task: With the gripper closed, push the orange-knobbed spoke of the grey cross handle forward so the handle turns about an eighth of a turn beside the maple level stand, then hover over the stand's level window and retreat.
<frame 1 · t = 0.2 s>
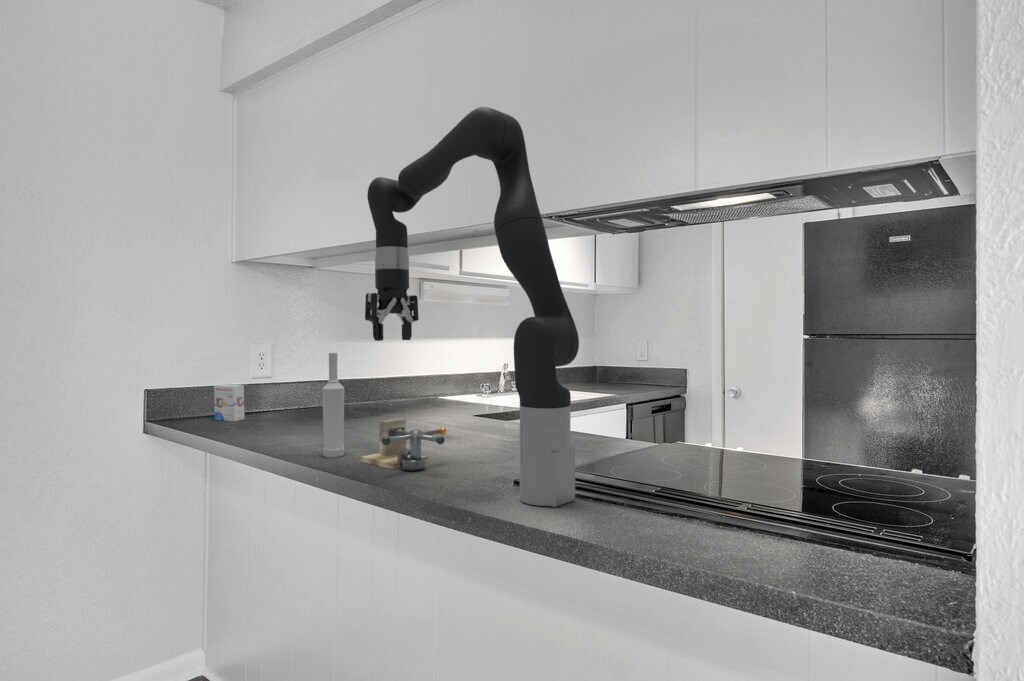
hand: (392, 340, 143), 28 cm above the countertop, fingers open, 8 cm apart
ink box: (229, 420, 212), on the countertop
level stand: (394, 461, 147), on the countertop
bottle: (333, 456, 154), on the countertop
grey cross handle: (415, 449, 139), point 4 cm above the countertop, hinge at 0.0°
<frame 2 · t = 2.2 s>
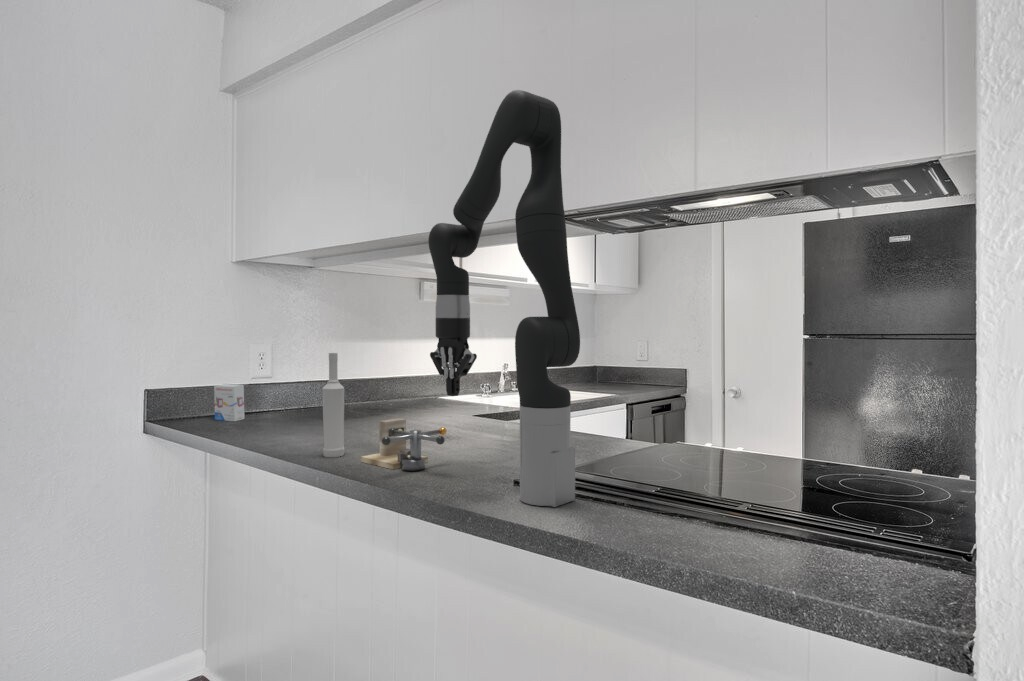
hand: (452, 395, 139), 16 cm above the countertop, fingers closed
nothing on the countertop moved.
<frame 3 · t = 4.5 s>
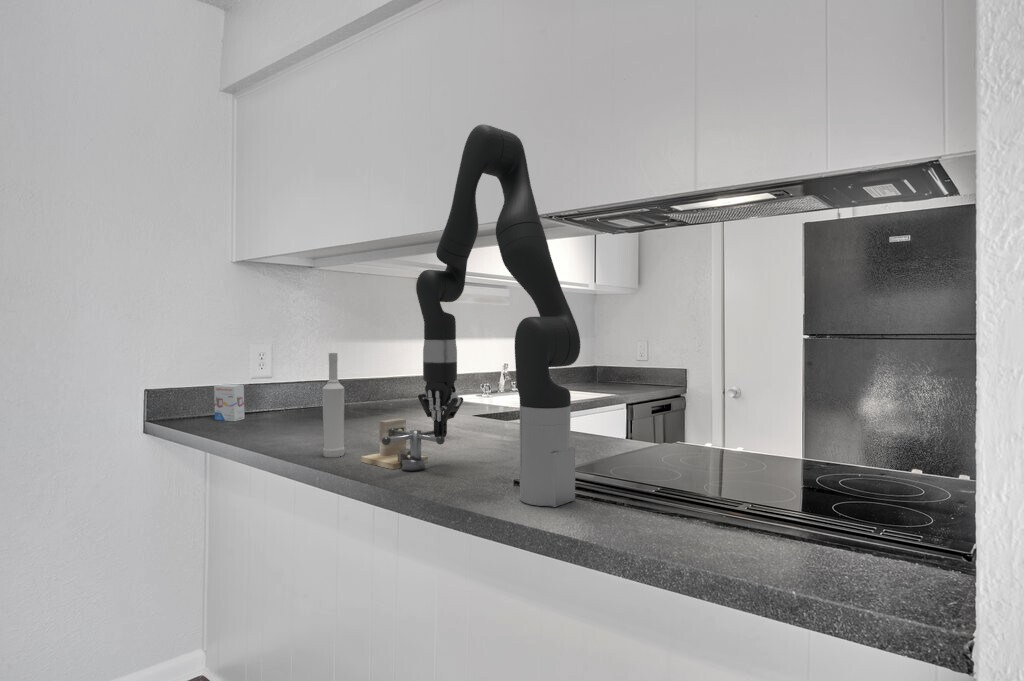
hand: (440, 437, 142), 7 cm above the countertop, fingers closed
grey cross handle: (415, 449, 139), point 4 cm above the countertop, hinge at 0.1°, touching gripper
everything else where it was.
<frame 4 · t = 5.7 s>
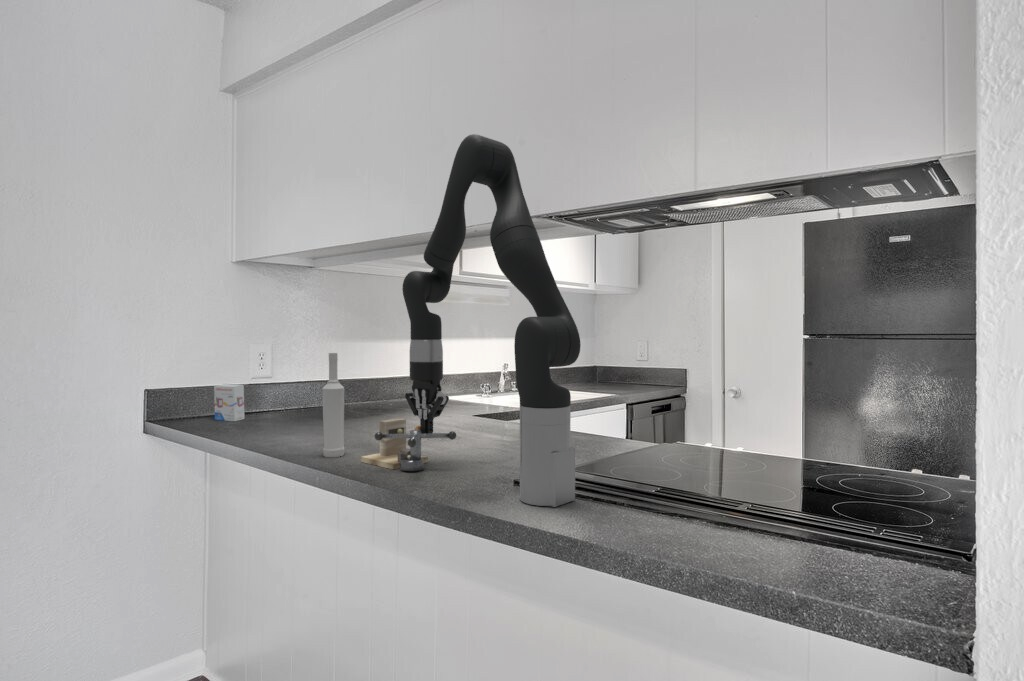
hand: (426, 435, 144), 7 cm above the countertop, fingers closed
grey cross handle: (415, 449, 139), point 4 cm above the countertop, hinge at 44.5°, touching gripper
everything else where it was.
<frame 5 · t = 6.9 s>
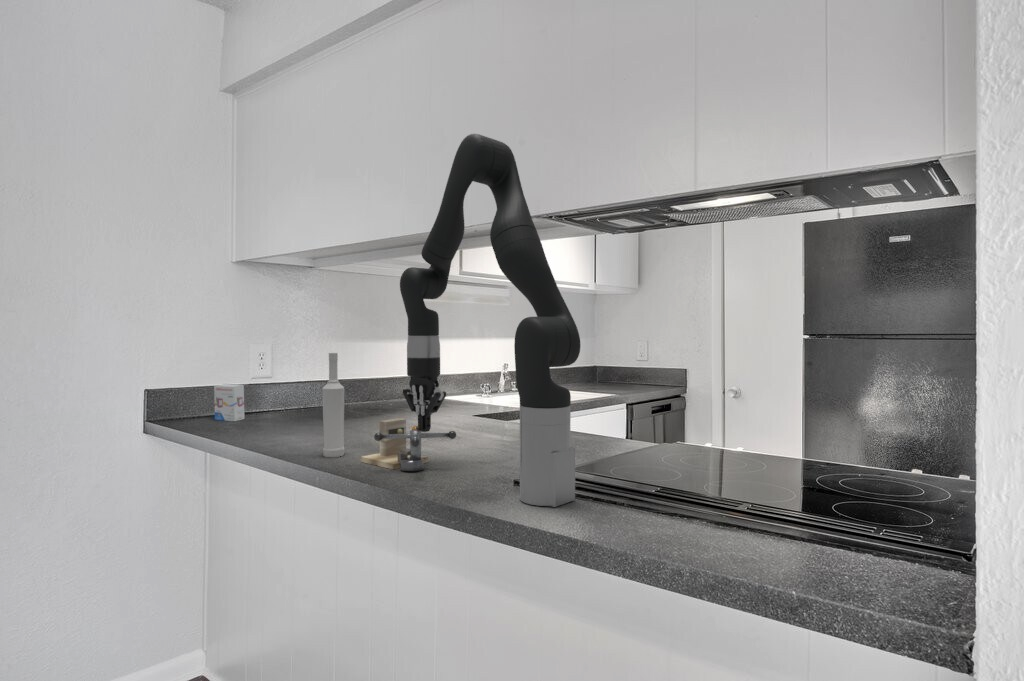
hand: (424, 431, 145), 7 cm above the countertop, fingers closed
grey cross handle: (415, 449, 139), point 4 cm above the countertop, hinge at 49.4°
everything else where it was.
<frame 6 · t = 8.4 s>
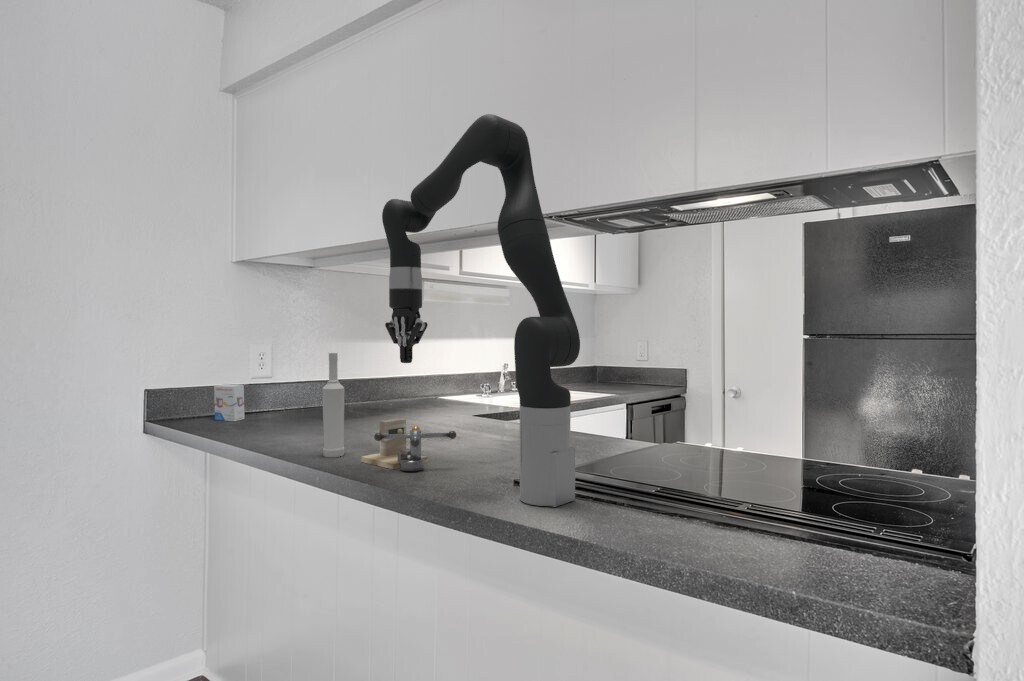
hand: (406, 362, 146), 23 cm above the countertop, fingers closed
nothing on the countertop moved.
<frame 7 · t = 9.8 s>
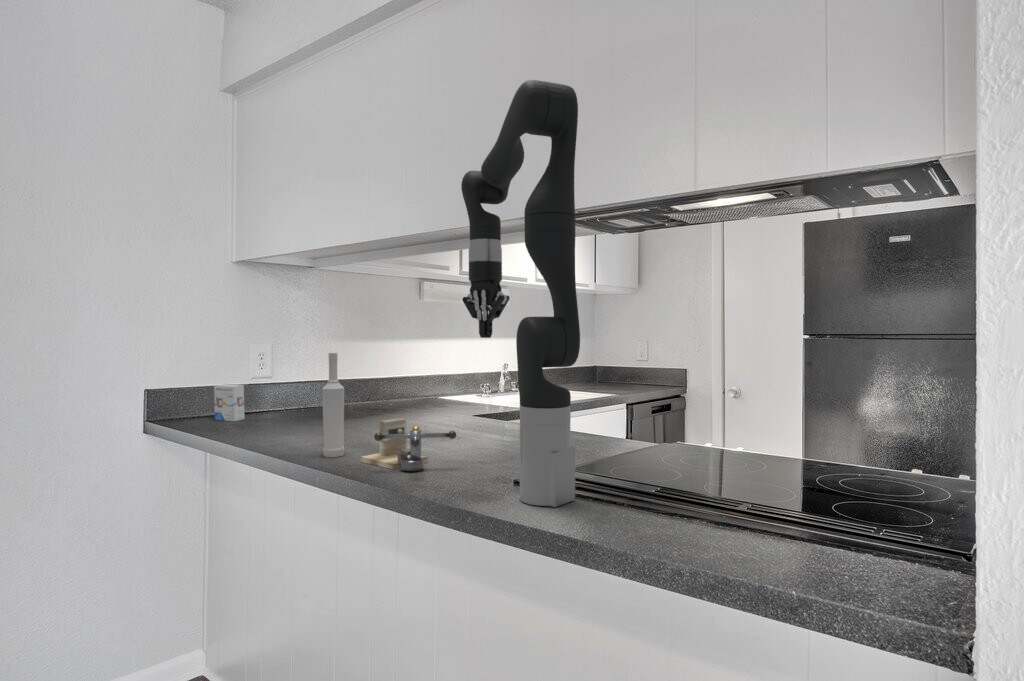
hand: (485, 337, 143), 29 cm above the countertop, fingers closed
nothing on the countertop moved.
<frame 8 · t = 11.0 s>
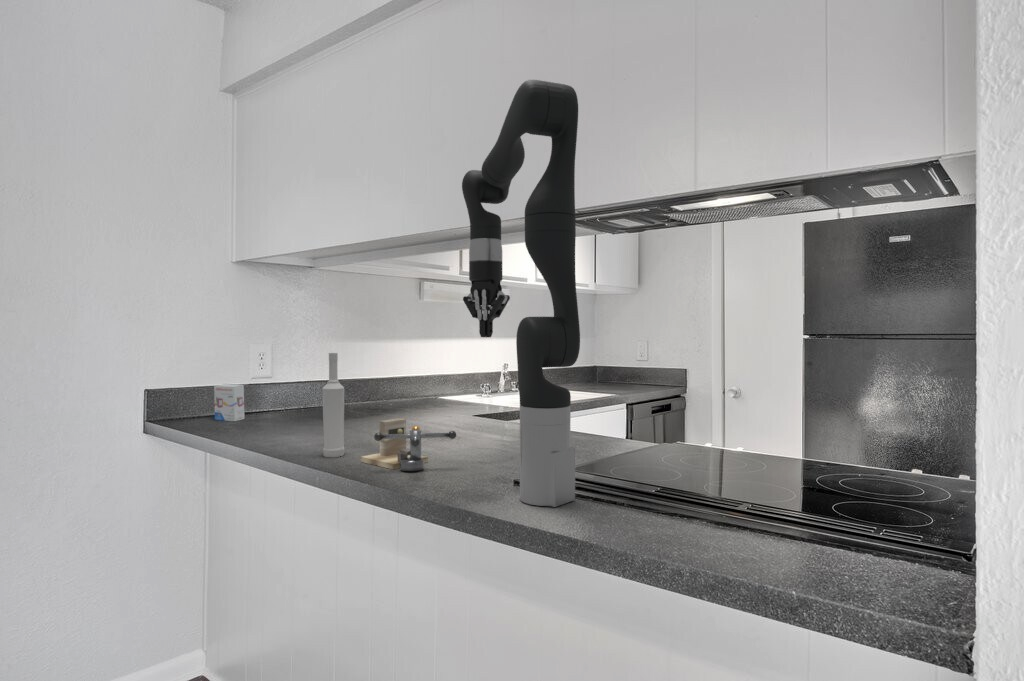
hand: (485, 337, 143), 29 cm above the countertop, fingers closed
nothing on the countertop moved.
at the end: grey cross handle at +49° (first picture: +0°) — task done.
